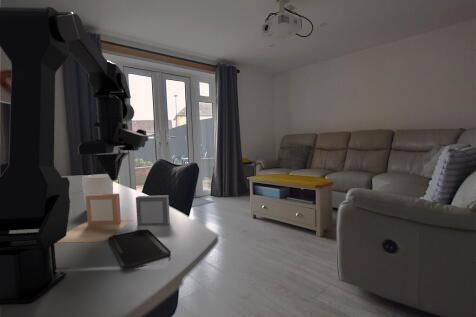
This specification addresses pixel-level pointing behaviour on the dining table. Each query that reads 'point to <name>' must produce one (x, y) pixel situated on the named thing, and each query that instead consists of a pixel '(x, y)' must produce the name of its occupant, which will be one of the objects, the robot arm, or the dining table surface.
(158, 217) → the gray box
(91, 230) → the cork mat
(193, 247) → the dining table surface
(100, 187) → the white cup
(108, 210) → the terracotta tile
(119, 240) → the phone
